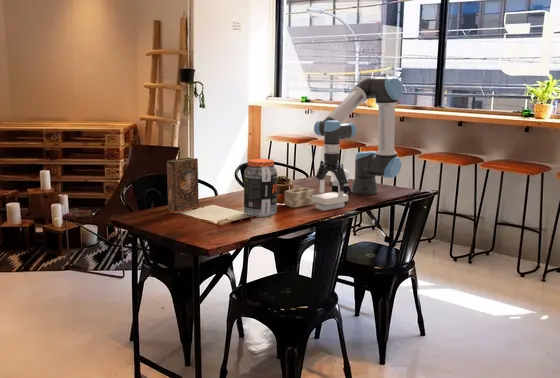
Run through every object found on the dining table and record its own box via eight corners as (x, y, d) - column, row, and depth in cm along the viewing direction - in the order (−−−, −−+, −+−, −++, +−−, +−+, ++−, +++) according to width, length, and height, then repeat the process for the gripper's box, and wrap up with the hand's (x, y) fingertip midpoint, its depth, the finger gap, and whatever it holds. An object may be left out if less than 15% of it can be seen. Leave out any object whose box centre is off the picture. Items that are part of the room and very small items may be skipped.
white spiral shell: (342, 186, 342) (343, 171, 341) (325, 183, 349) (325, 169, 347) (351, 183, 352) (351, 168, 350) (333, 180, 358) (334, 166, 356)
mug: (340, 206, 291) (340, 186, 289) (327, 203, 298) (328, 184, 296) (356, 203, 299) (357, 184, 297) (343, 200, 305) (344, 181, 303)
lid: (334, 199, 293) (334, 191, 292) (348, 203, 285) (348, 195, 285) (312, 203, 284) (312, 195, 283) (325, 207, 276) (325, 198, 276)
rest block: (336, 205, 292) (336, 200, 291) (344, 208, 287) (344, 202, 287) (315, 209, 283) (315, 203, 283) (323, 212, 279) (323, 206, 278)
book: (174, 214, 271) (173, 162, 266) (166, 212, 274) (164, 161, 269) (198, 208, 284) (197, 158, 279) (190, 206, 287) (189, 157, 282)
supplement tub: (279, 217, 268) (280, 162, 263) (245, 218, 265) (245, 163, 260) (274, 209, 283) (274, 157, 278) (242, 210, 281) (242, 157, 275)
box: (305, 202, 298) (306, 187, 297) (314, 205, 293) (314, 189, 291) (284, 206, 290) (284, 190, 288) (293, 208, 284) (293, 193, 283)
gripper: (309, 150, 287) (308, 191, 292) (343, 156, 268) (343, 200, 272) (320, 148, 291) (320, 189, 296) (355, 154, 272) (354, 198, 277)
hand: (331, 194), depth 284 cm, fingers open, 13 cm apart
